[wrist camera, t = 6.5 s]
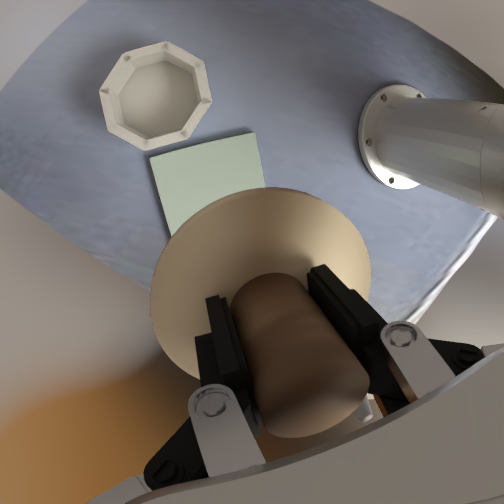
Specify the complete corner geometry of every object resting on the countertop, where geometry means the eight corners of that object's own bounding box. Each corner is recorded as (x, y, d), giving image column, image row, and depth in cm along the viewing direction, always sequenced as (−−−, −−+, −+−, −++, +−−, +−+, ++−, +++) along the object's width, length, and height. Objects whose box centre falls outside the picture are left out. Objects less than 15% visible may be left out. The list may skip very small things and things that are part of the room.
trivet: (253, 132, 28) (255, 132, 28) (270, 226, 33) (272, 229, 32) (150, 157, 27) (149, 158, 26) (177, 252, 31) (177, 255, 31)
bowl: (194, 48, 24) (198, 34, 19) (212, 130, 27) (218, 131, 23) (107, 72, 23) (93, 63, 18) (125, 154, 26) (115, 160, 22)
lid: (356, 166, 11) (469, 209, 6) (360, 341, 15) (419, 419, 10) (117, 225, 10) (71, 323, 5) (191, 395, 14) (207, 496, 9)
